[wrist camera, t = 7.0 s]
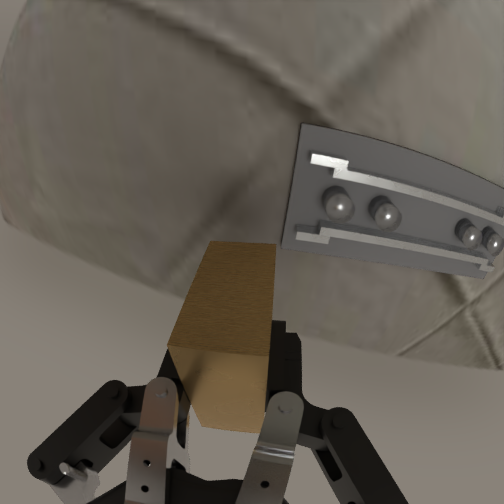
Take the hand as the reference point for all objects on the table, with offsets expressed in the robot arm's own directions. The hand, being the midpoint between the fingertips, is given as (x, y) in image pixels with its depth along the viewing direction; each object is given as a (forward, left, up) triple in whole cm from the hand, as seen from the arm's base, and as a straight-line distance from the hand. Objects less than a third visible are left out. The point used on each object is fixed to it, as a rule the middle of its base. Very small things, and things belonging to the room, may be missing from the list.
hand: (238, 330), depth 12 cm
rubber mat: (+16, +2, -15) cm, 22 cm away
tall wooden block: (0, 0, -2) cm, 2 cm away
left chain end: (+10, +2, -14) cm, 18 cm away
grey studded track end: (+23, +2, -14) cm, 27 cm away
